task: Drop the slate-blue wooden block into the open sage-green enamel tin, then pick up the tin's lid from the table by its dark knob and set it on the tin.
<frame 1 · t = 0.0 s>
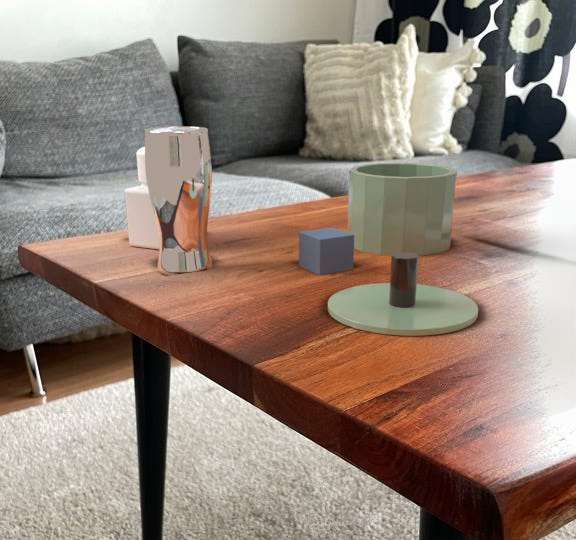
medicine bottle: (168, 244, 93), on the table
lid: (401, 310, 66), point 1 cm above the table
tin: (398, 247, 90), on the table
beer glass: (185, 271, 81), on the table
block: (325, 272, 80), on the table
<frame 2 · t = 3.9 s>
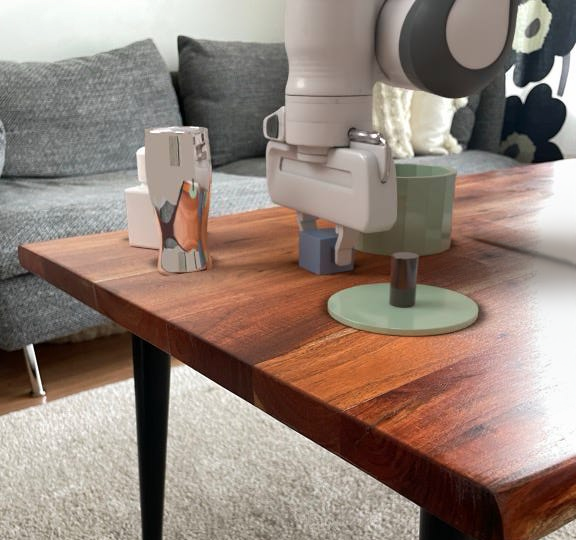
hand: (325, 258, 79), 2 cm above the table, tool pointing down, fingers closed on block, 4 cm apart
block: (325, 272, 80), on the table, touching gripper
everything else where it was.
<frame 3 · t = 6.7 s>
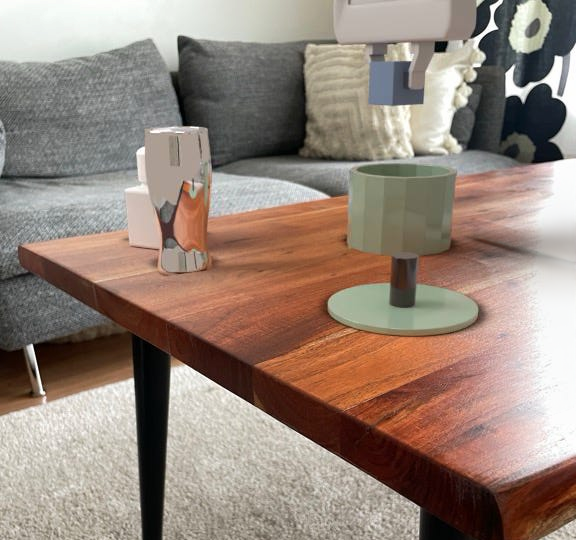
hand: (396, 88, 80), 19 cm above the table, tool pointing down, fingers closed on block, 4 cm apart
block: (395, 104, 81), point 17 cm above the table, touching gripper
everything else where it was.
when the fingers open (10 cm above the table, at t = 9.8 s): block drops 8 cm, resting on tin.
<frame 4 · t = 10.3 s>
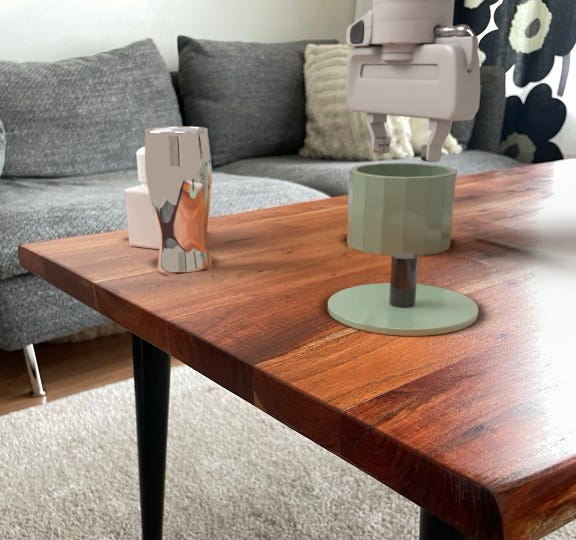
hand: (404, 157, 86), 11 cm above the table, tool pointing down, fingers open, 8 cm apart
block: (396, 243, 90), resting on tin
everything else where it was.
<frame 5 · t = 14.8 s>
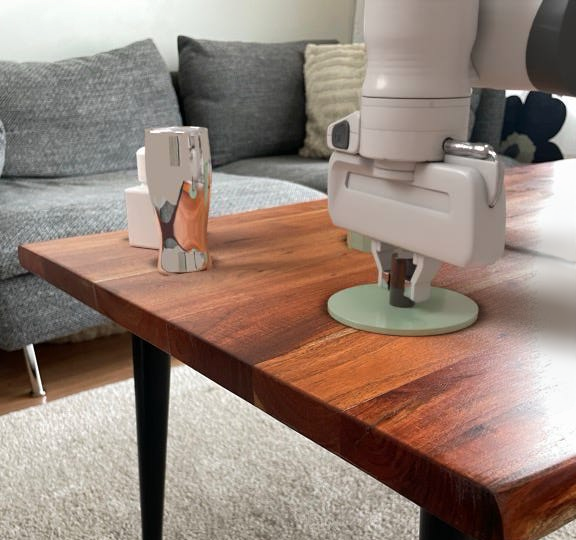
hand: (402, 294, 65), 2 cm above the table, tool pointing down, fingers closed on lid, 2 cm apart
lid: (401, 310, 66), point 1 cm above the table, touching gripper
everything else where it was.
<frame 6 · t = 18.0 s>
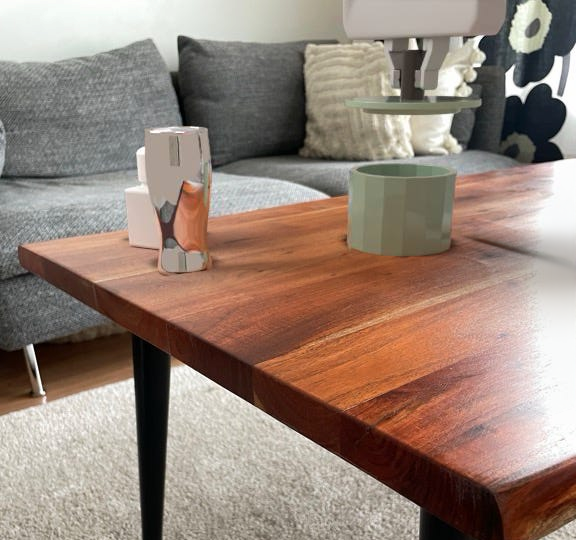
hand: (412, 89, 72), 19 cm above the table, tool pointing down, fingers closed on lid, 2 cm apart
lid: (411, 105, 73), point 17 cm above the table, touching gripper
everything else where it was.
when the fingers open (11 cm above the table, at t = 21.6 s): lid stays where it is, resting on tin.
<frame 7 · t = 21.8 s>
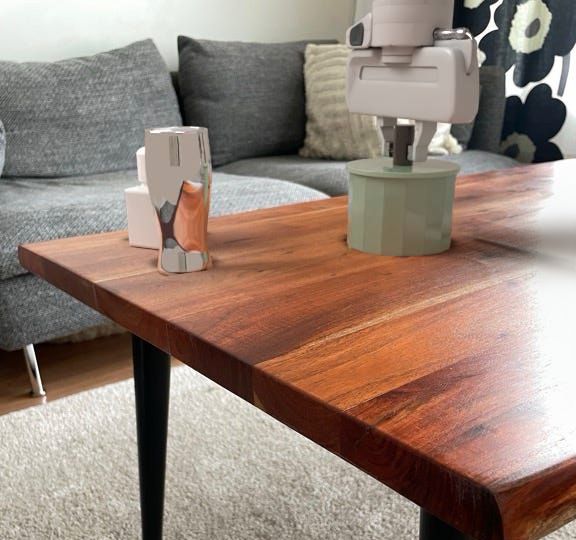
hand: (403, 159, 86), 11 cm above the table, tool pointing down, fingers open, 4 cm apart
lid: (402, 169, 86), point 9 cm above the table, touching tin
everything else where it was.
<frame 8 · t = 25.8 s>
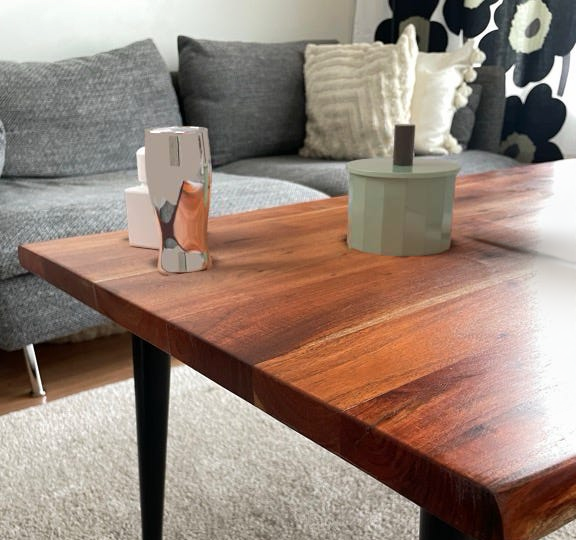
nothing on the table moved.
at the end: block inside the target area in the tin (0.3 cm from its centre), point 0.5 cm above the tin's base; lid 0.1 cm off-centre on the tin, point 9.4 cm above the tin's base; lid tilted 0° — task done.
